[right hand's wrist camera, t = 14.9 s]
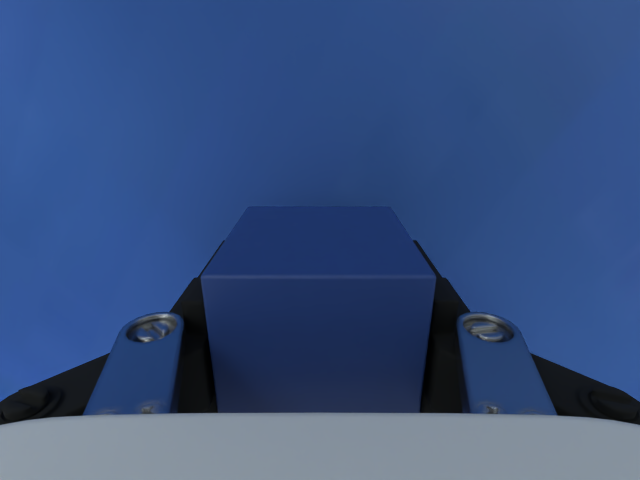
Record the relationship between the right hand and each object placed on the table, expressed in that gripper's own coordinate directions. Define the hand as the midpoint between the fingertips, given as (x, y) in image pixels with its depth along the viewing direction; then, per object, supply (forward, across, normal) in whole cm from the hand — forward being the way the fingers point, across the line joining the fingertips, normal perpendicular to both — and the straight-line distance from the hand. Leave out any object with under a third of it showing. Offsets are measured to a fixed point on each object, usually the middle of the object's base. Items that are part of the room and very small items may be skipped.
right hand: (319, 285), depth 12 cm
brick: (+1, 0, 0) cm, 1 cm away
